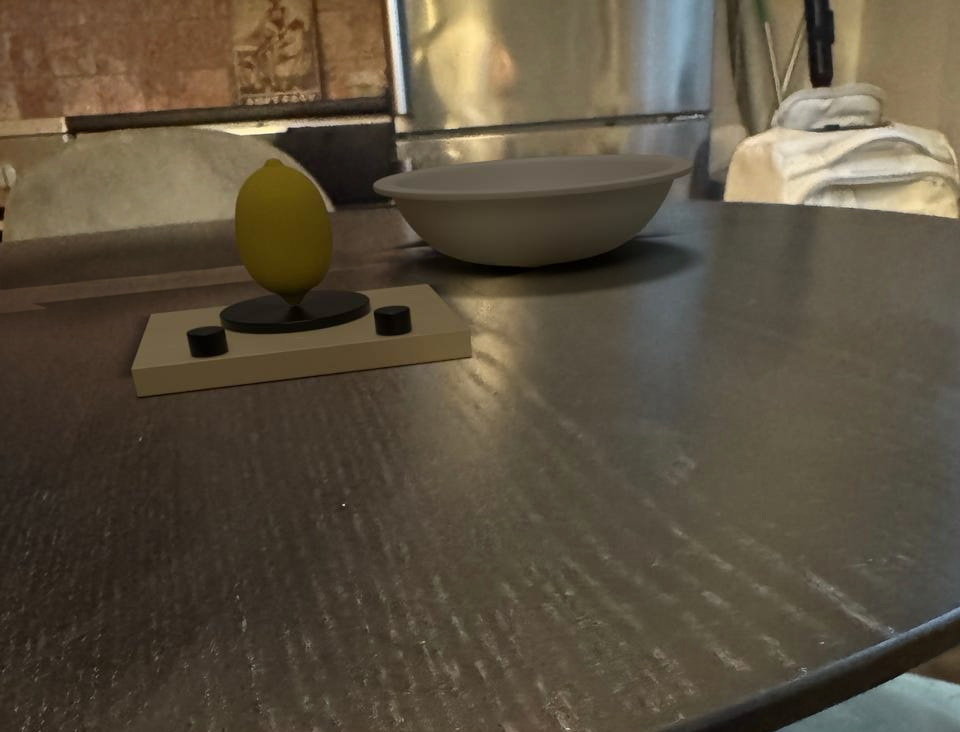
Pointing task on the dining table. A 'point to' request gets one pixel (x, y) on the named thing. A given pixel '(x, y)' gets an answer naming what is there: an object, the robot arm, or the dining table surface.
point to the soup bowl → (533, 205)
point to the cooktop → (296, 338)
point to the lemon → (283, 231)
